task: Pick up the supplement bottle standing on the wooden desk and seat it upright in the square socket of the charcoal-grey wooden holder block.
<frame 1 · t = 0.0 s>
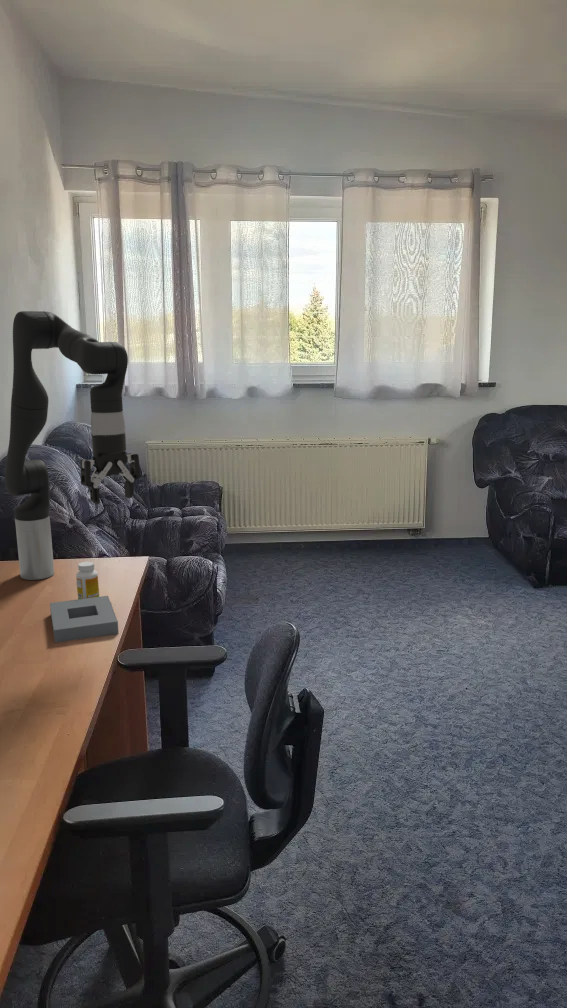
hand: (112, 500, 168), 29 cm above the table, fingers open, 8 cm apart
socket holder: (83, 623, 172), on the table
supplement bottle: (88, 600, 188), on the table
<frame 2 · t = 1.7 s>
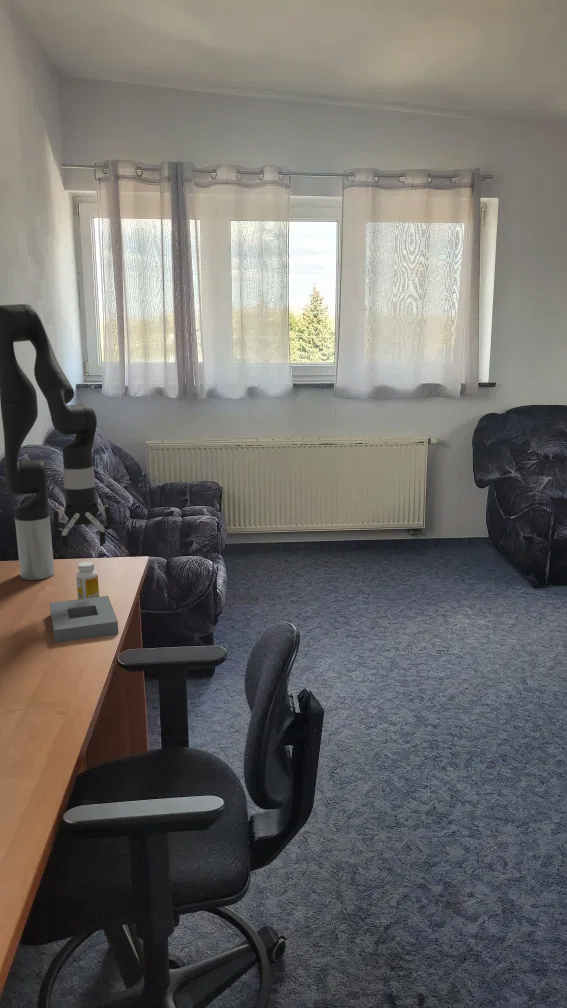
hand: (84, 547, 184), 14 cm above the table, fingers open, 8 cm apart
nothing on the table moved.
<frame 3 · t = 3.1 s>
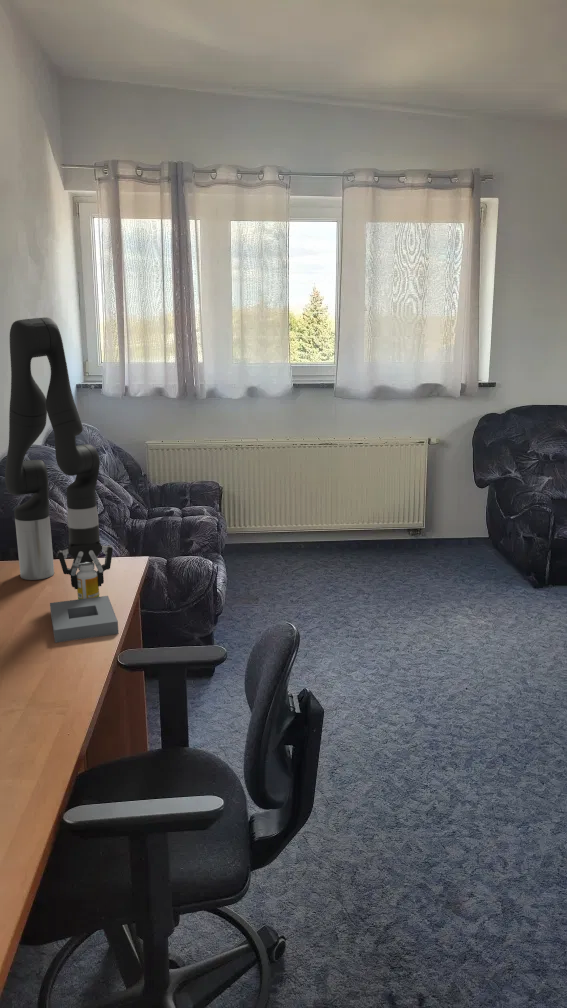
hand: (87, 586, 187), 4 cm above the table, fingers closed on supplement bottle, 5 cm apart
supplement bottle: (88, 600, 188), on the table, touching gripper
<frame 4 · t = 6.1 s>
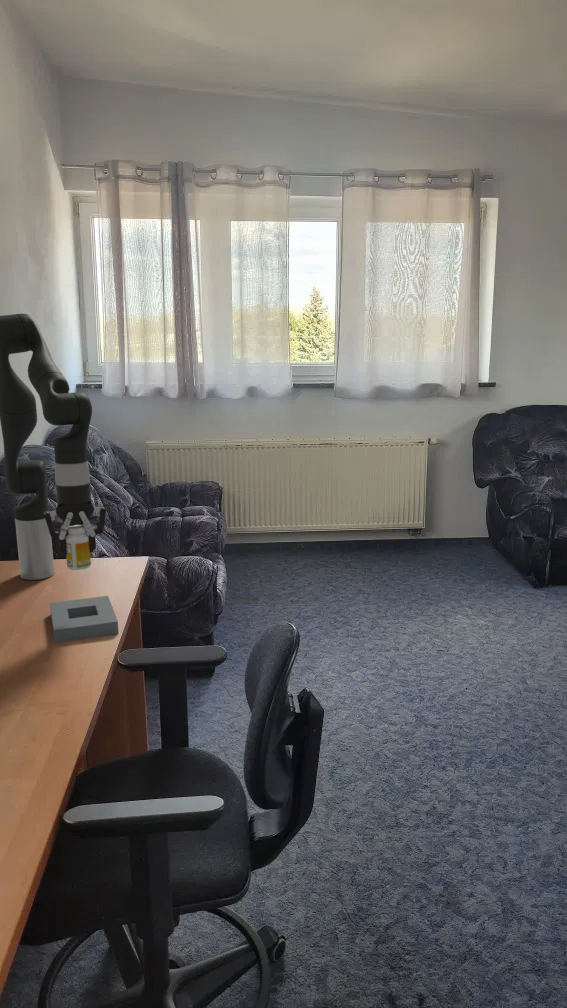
hand: (78, 552, 168), 18 cm above the table, fingers closed on supplement bottle, 5 cm apart
supplement bottle: (79, 567, 168), point 14 cm above the table, touching gripper
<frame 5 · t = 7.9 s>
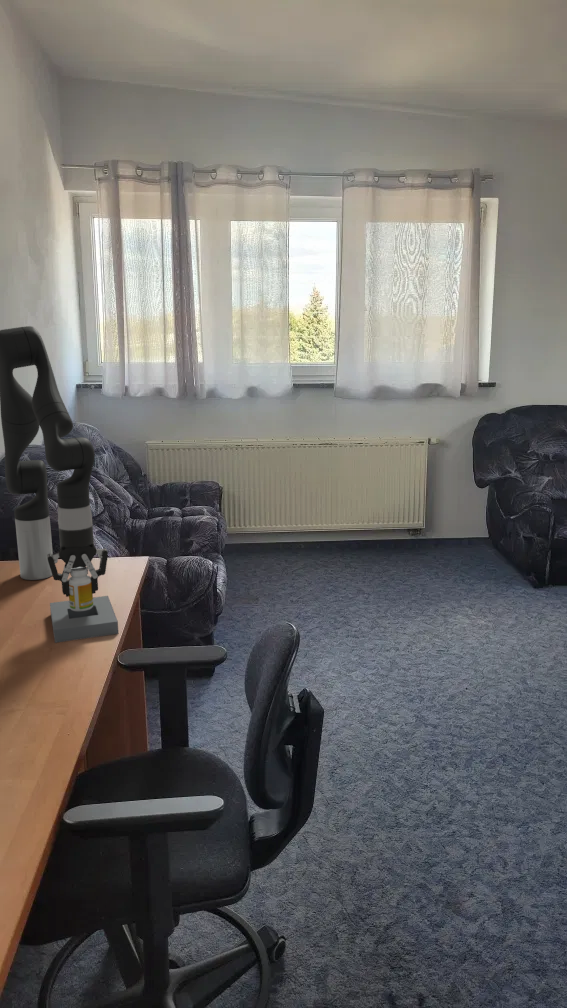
hand: (80, 593, 170), 8 cm above the table, fingers closed on supplement bottle, 5 cm apart
supplement bottle: (81, 608, 171), point 4 cm above the table, touching gripper
when the fingers open (5 cm above the table, at t = 9.4 s): supplement bottle drops 1 cm, resting in socket holder.
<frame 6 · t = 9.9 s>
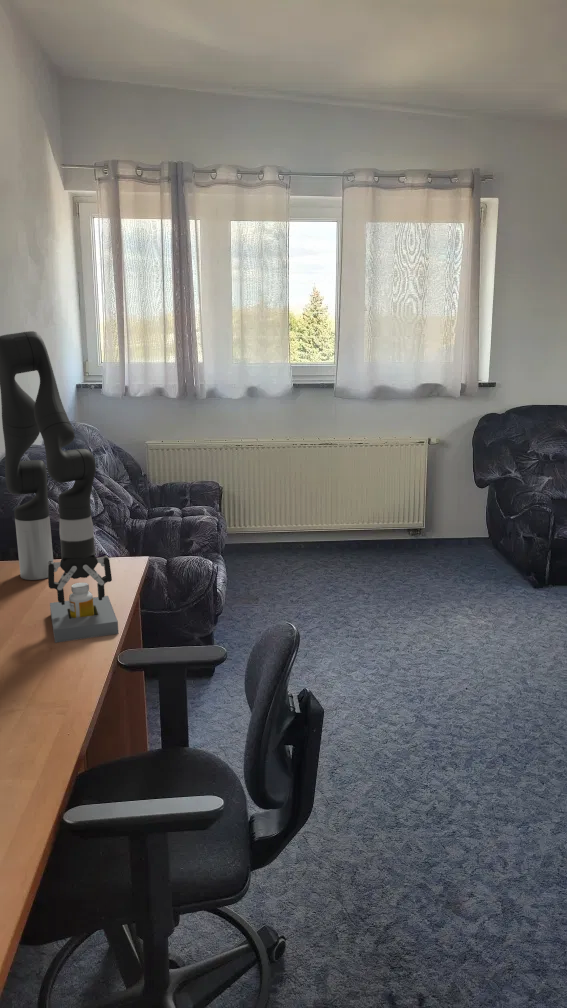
hand: (81, 601, 170), 6 cm above the table, fingers open, 8 cm apart
supplement bottle: (83, 624, 172), resting in socket holder
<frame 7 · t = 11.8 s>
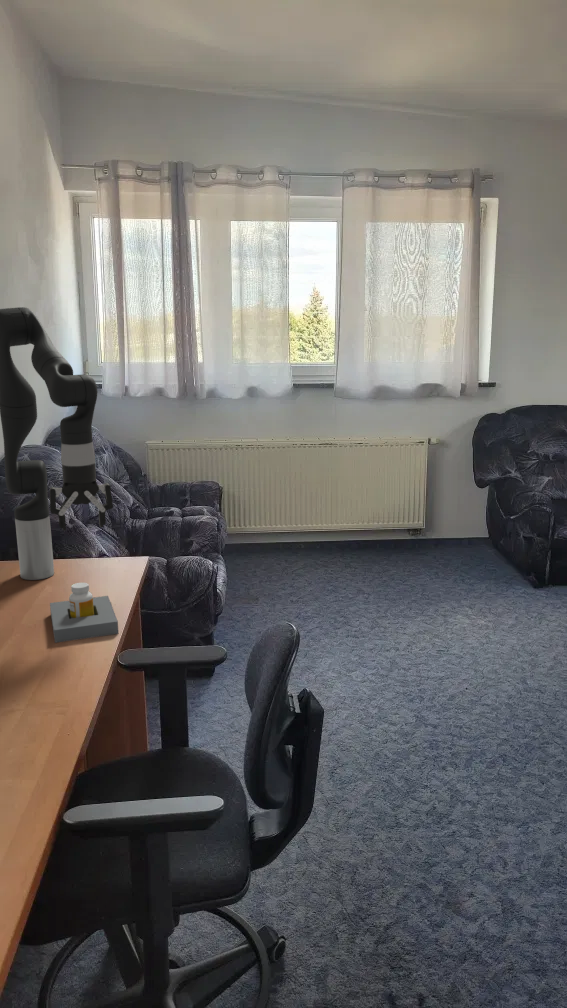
hand: (83, 528, 172), 22 cm above the table, fingers open, 8 cm apart
nothing on the table moved.
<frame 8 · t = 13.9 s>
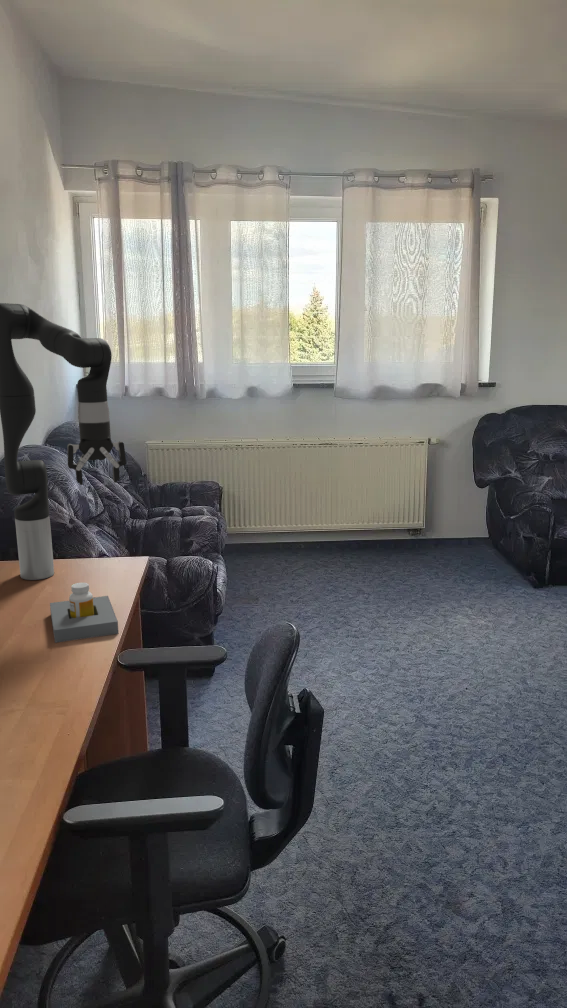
hand: (98, 483, 184), 30 cm above the table, fingers open, 8 cm apart
nothing on the table moved.
at the end: supplement bottle 0.1 cm off-centre on the socket holder, point 0.0 cm above the socket holder's base; supplement bottle tilted 0°; the gripper is holding nothing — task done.
